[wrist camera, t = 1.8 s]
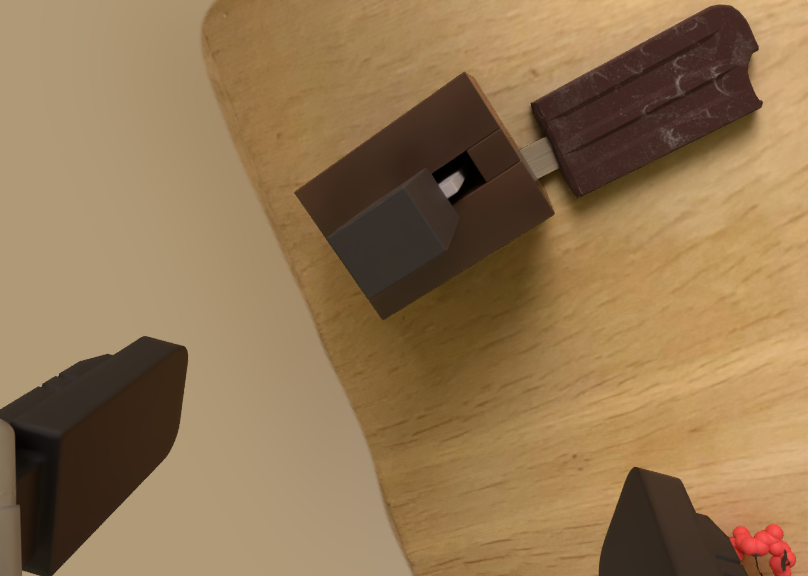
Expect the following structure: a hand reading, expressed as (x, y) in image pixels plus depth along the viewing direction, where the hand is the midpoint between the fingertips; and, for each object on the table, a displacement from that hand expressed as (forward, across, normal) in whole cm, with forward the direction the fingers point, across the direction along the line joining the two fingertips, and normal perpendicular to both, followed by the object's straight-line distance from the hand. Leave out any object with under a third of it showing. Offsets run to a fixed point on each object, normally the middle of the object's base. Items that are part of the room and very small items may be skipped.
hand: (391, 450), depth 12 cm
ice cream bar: (+26, -5, -6) cm, 27 cm away
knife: (+26, +2, -1) cm, 26 cm away
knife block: (+26, +2, -1) cm, 26 cm away
